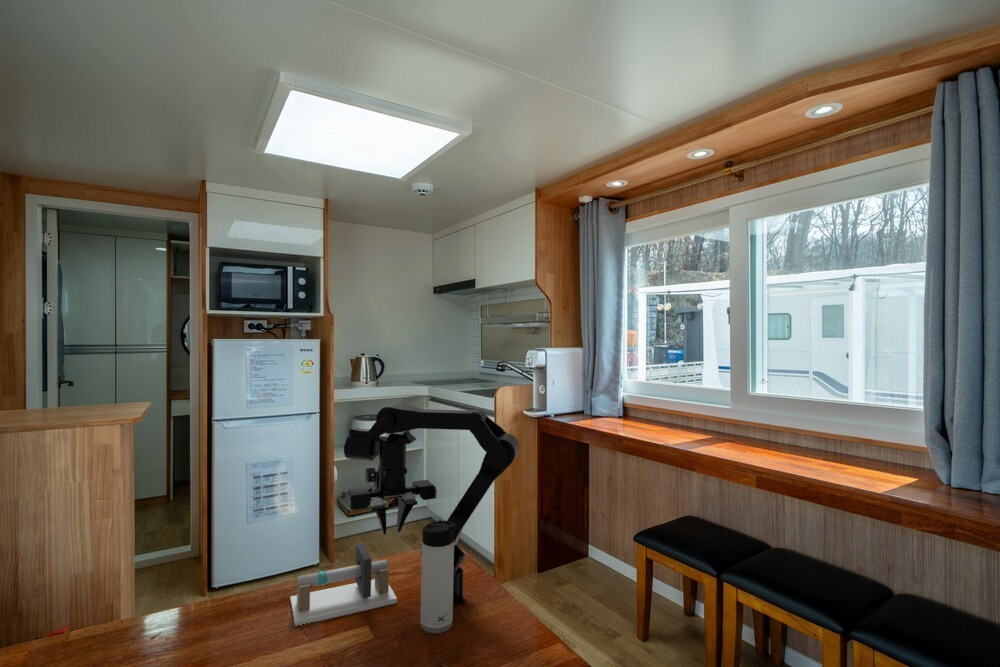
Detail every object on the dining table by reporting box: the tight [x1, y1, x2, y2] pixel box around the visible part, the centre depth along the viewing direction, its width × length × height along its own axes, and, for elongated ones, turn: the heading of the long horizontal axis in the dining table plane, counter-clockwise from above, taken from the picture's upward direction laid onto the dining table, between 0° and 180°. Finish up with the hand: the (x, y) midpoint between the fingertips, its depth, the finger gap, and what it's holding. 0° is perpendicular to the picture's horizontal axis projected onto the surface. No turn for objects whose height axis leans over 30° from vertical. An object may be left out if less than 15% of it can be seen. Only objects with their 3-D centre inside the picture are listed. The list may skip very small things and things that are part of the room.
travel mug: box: [419, 520, 456, 634], centre depth 101 cm, size 6×7×20 cm
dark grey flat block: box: [355, 543, 372, 598], centre depth 110 cm, size 2×8×8 cm, turn 27°
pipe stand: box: [289, 559, 398, 627], centre depth 108 cm, size 20×10×7 cm, turn 117°
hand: (391, 532), depth 113 cm, fingers open, 3 cm apart
